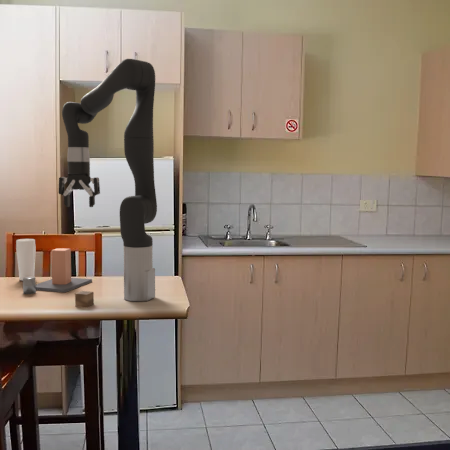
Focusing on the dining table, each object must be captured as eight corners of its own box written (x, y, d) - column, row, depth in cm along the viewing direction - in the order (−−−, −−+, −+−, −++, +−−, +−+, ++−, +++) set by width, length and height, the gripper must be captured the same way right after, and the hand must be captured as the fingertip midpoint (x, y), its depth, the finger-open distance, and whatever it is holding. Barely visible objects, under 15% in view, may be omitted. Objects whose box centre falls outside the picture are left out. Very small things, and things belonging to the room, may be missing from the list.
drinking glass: (16, 281, 200) (15, 241, 199) (18, 278, 207) (16, 238, 205) (35, 281, 202) (34, 240, 201) (37, 277, 209) (35, 238, 207)
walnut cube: (93, 304, 169) (93, 291, 169) (87, 307, 165) (86, 294, 165) (82, 303, 170) (81, 290, 170) (75, 306, 166) (75, 293, 166)
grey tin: (38, 291, 185) (37, 277, 184) (31, 294, 181) (30, 279, 181) (28, 291, 186) (27, 276, 185) (20, 293, 182) (20, 278, 182)
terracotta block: (71, 281, 197) (70, 248, 196) (65, 284, 192) (65, 250, 191) (57, 281, 198) (57, 248, 196) (52, 284, 193) (51, 250, 191)
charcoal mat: (92, 281, 202) (92, 279, 201) (65, 292, 184) (64, 289, 184) (58, 279, 205) (58, 276, 205) (29, 289, 188) (29, 286, 188)
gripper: (101, 161, 194) (102, 206, 196) (63, 160, 196) (64, 205, 198) (94, 160, 187) (95, 208, 189) (54, 160, 188) (55, 207, 190)
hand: (79, 206), depth 193 cm, fingers open, 8 cm apart
